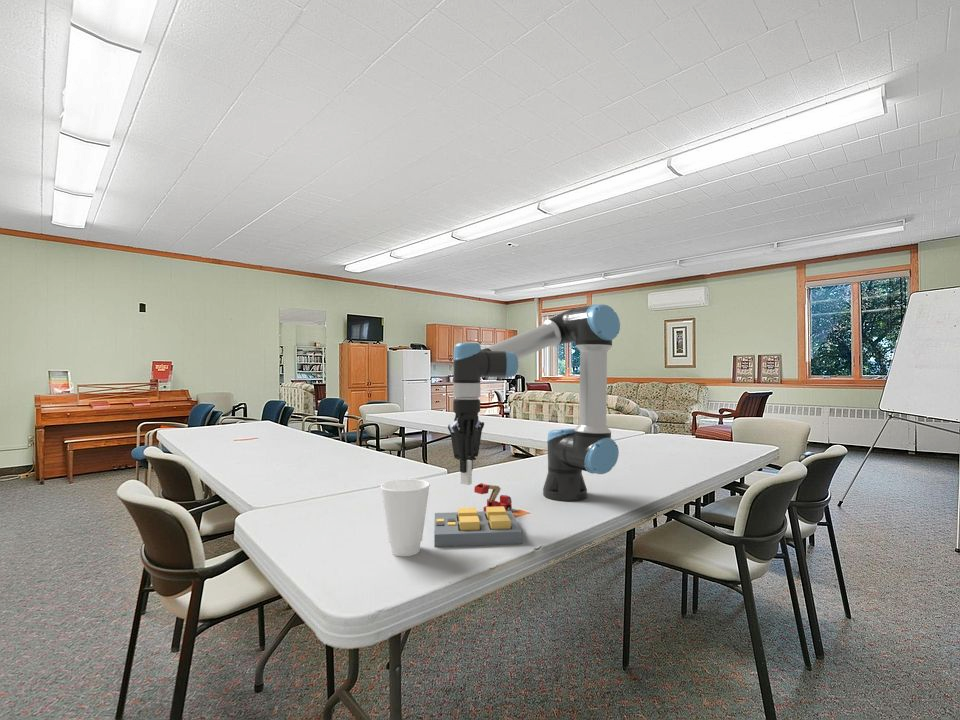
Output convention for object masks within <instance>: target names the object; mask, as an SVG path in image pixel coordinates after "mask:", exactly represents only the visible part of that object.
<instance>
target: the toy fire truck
mask: <svg viewBox="0 0 960 720" xmlns="http://www.w3.org/2000/svg"><path fill="white" fill-rule="evenodd" d="M489 490H491V493H490V496H489V498H488V499H487V500H486V506H483V512H484V511H486V507H501V506H504V508H505V510H506V511H511V510H512V509H513V508H512V507H513V506H512V505H513V504H512V502H513V501H512V498H511V496H509V495H506V494H505V495H504V494H501V495H499V493H500V492H501V486H499V485H495V484H494V485H493V484H486V483H482V482H480V483H478V484H477V485H475V486H474V489H473V493H476V494H479V495H486V494H489ZM498 495H499V501H497V500H496V499H497V497H498Z"/></svg>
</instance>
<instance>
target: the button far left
mask: <svg viewBox="0 0 960 720" xmlns="http://www.w3.org/2000/svg"><path fill="white" fill-rule="evenodd" d="M506 511H507V510H505V508H504V506H501V507H486V515H487V518H488V520H489V515H506Z"/></svg>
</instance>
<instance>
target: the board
mask: <svg viewBox="0 0 960 720" xmlns="http://www.w3.org/2000/svg"><path fill="white" fill-rule="evenodd" d="M506 515H508V516H509V518H510V520H511V529H499V530H494V529H491V527H490V524H489V520H488V518H487V515H486V511H484V510H483V511H477V516H478V518H479V521H480V530H470V531H463V530H460V526H459V519H458V511H455V512H452V511H451V512H434V536H433V537H434V541H433V542H434V547H435V548H436V547H437V548H438V547H441V548H442V547H462V546H463V547H464V546H491V545H493V546H494V545H515V544H517V545H518V543H522V544H523V530H522V528H521V527H520V525H519V522H518V521H517V519H516V517H515V515H514V514H513V512H512V510H509V511H507V510H506Z"/></svg>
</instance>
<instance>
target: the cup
mask: <svg viewBox="0 0 960 720" xmlns="http://www.w3.org/2000/svg"><path fill="white" fill-rule="evenodd" d="M430 486H431V484H430V483H429V482H428V481H426V480H422V479H413V478H411V479H410V478H409V479H408V478H407V479H406V478H405V479H395V480H391V481H390V480H389V481H386V482H384V483H382V484H381V485H380V490H381V496H382V497H381V498H382V504H383V511H384V519H385V526H386V532H387V533H386V534H387V540H388V543H389V546H390V547H389V548H390V553H391V554H392V555H393V556H395V557H410V556H414V555H417V554H419V553H420V550H421V544H422V543H421V542H422V540H423V535H424V528H425V527H424V526H425V521H426V513H427V504H428V498H429V490H430Z"/></svg>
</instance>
